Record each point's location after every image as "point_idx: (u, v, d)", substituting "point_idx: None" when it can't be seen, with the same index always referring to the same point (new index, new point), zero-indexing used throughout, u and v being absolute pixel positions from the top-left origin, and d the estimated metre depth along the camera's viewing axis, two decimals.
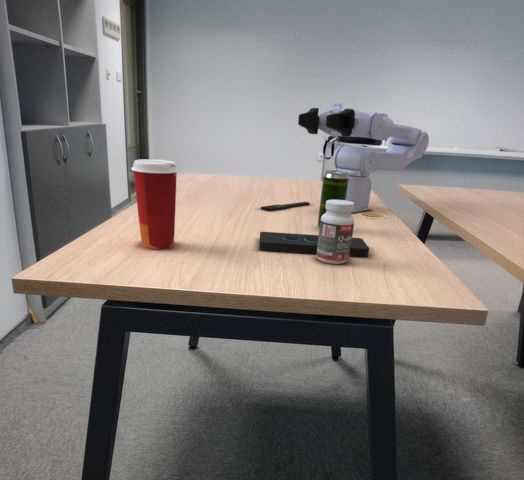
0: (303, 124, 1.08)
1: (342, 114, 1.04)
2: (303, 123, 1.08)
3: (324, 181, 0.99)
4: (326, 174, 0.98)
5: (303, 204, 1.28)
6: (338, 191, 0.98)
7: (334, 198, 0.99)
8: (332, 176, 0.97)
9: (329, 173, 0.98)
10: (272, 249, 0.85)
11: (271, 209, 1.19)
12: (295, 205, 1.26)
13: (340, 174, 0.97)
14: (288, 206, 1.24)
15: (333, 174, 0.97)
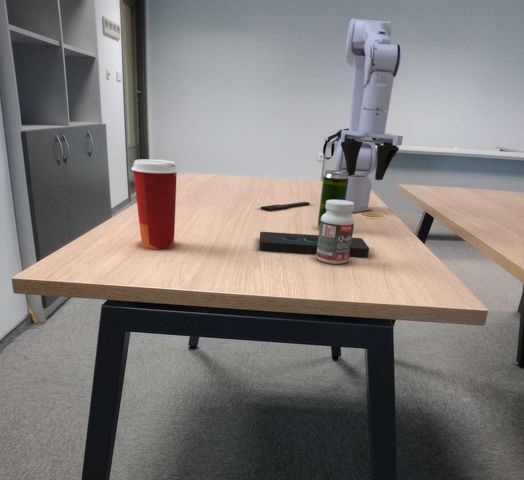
0: (354, 169, 1.09)
1: (382, 161, 1.01)
2: (353, 169, 1.09)
3: (324, 181, 0.99)
4: (326, 174, 0.98)
5: (303, 204, 1.28)
6: (338, 191, 0.98)
7: (334, 198, 0.99)
8: (332, 176, 0.97)
9: (329, 173, 0.98)
10: (272, 249, 0.85)
11: (271, 209, 1.19)
12: (295, 205, 1.26)
13: (340, 174, 0.97)
14: (288, 206, 1.24)
15: (333, 174, 0.97)
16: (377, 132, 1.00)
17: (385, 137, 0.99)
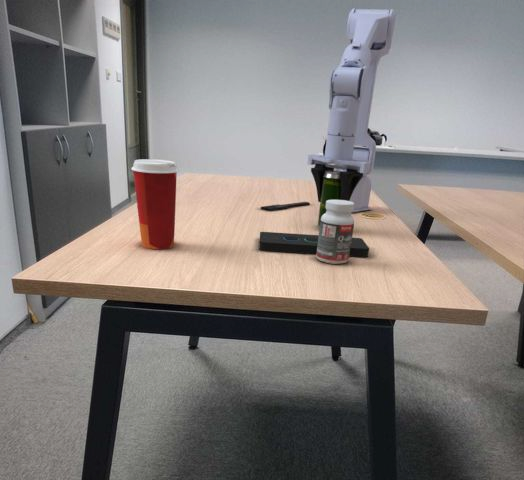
0: None
1: (346, 188, 0.97)
2: None
3: (324, 181, 0.99)
4: (326, 174, 0.98)
5: (303, 204, 1.28)
6: (338, 191, 0.98)
7: (334, 198, 0.99)
8: (332, 176, 0.97)
9: (329, 173, 0.98)
10: (272, 249, 0.85)
11: (271, 209, 1.19)
12: (295, 205, 1.26)
13: None
14: (288, 206, 1.24)
15: (333, 174, 0.97)
16: (343, 158, 0.95)
17: (352, 164, 0.94)
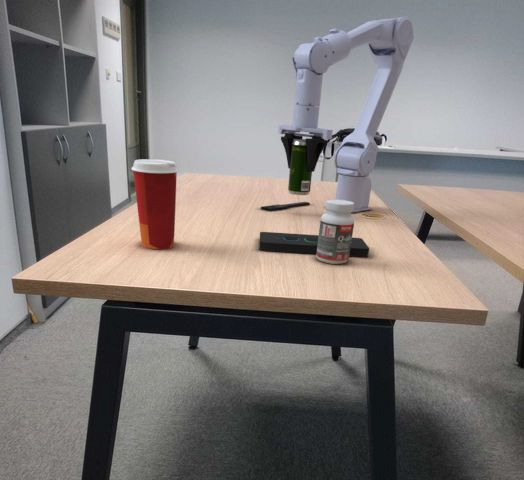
0: None
1: (312, 154, 1.07)
2: None
3: (292, 148, 1.09)
4: (294, 141, 1.09)
5: (303, 204, 1.28)
6: (305, 156, 1.09)
7: (301, 163, 1.09)
8: (299, 143, 1.08)
9: (296, 140, 1.08)
10: (272, 249, 0.85)
11: (271, 209, 1.19)
12: (295, 205, 1.26)
13: None
14: (288, 206, 1.24)
15: (300, 141, 1.07)
16: (309, 126, 1.06)
17: (316, 131, 1.05)
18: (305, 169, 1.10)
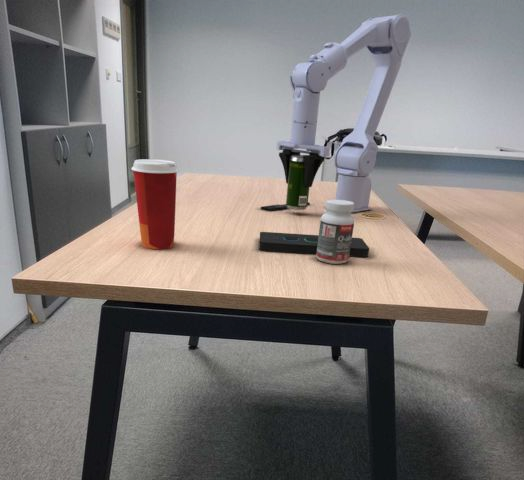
0: None
1: (309, 170, 1.09)
2: None
3: (290, 164, 1.11)
4: (292, 158, 1.11)
5: None
6: (303, 172, 1.11)
7: (299, 179, 1.11)
8: (297, 159, 1.10)
9: (294, 157, 1.10)
10: (272, 249, 0.85)
11: (271, 209, 1.19)
12: None
13: None
14: None
15: (297, 157, 1.09)
16: (306, 143, 1.08)
17: (313, 148, 1.07)
18: (302, 184, 1.12)
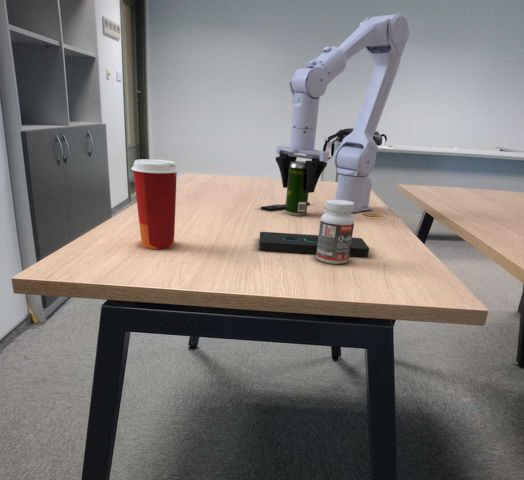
0: None
1: (311, 176, 1.09)
2: None
3: (289, 170, 1.12)
4: (291, 164, 1.11)
5: None
6: (302, 179, 1.11)
7: (298, 185, 1.12)
8: (296, 166, 1.10)
9: (293, 163, 1.10)
10: (272, 249, 0.85)
11: (271, 209, 1.19)
12: None
13: (303, 164, 1.10)
14: None
15: (297, 164, 1.10)
16: (306, 149, 1.08)
17: (312, 153, 1.07)
18: (301, 191, 1.12)
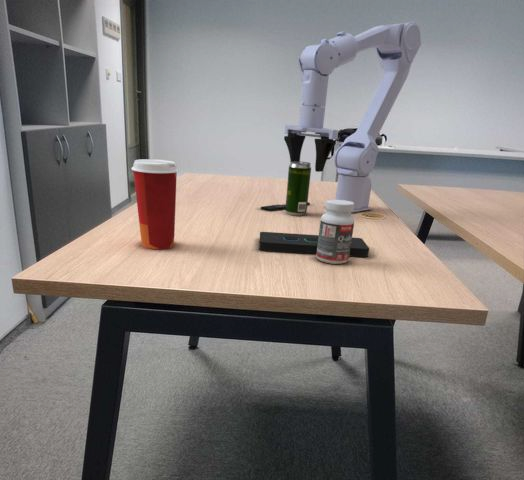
0: None
1: (320, 154, 1.09)
2: None
3: (289, 170, 1.12)
4: (291, 164, 1.11)
5: None
6: (302, 179, 1.11)
7: (298, 185, 1.12)
8: (296, 166, 1.10)
9: (293, 163, 1.10)
10: (272, 249, 0.85)
11: (271, 209, 1.19)
12: None
13: (303, 164, 1.10)
14: None
15: (297, 164, 1.10)
16: (315, 127, 1.08)
17: (322, 131, 1.07)
18: (301, 191, 1.12)
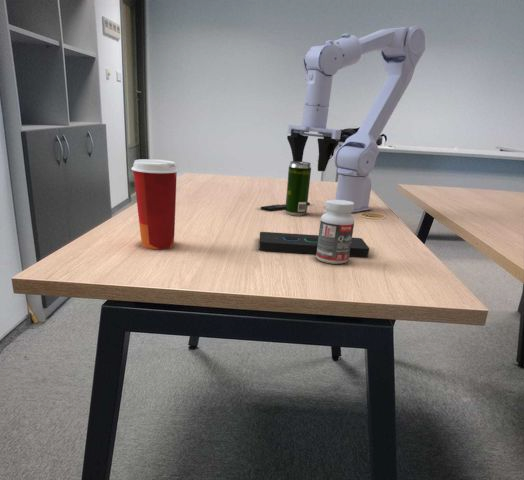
0: None
1: (323, 154, 1.09)
2: None
3: (289, 170, 1.12)
4: (291, 164, 1.11)
5: None
6: (302, 179, 1.11)
7: (298, 185, 1.12)
8: (296, 166, 1.10)
9: (293, 163, 1.10)
10: (272, 249, 0.85)
11: (271, 209, 1.19)
12: None
13: (303, 164, 1.10)
14: None
15: (297, 164, 1.10)
16: (318, 126, 1.08)
17: (325, 131, 1.07)
18: (301, 191, 1.12)
